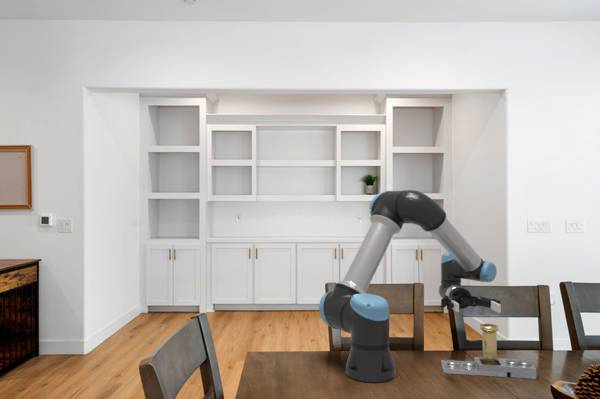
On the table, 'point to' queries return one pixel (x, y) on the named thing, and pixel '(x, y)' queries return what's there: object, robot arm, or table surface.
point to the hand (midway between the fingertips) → (478, 308)
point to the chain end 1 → (467, 368)
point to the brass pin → (489, 343)
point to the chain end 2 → (509, 367)
